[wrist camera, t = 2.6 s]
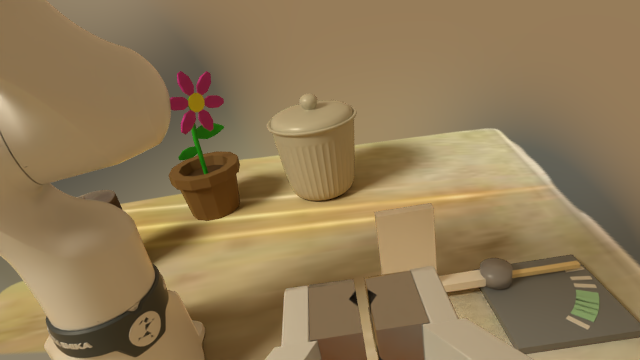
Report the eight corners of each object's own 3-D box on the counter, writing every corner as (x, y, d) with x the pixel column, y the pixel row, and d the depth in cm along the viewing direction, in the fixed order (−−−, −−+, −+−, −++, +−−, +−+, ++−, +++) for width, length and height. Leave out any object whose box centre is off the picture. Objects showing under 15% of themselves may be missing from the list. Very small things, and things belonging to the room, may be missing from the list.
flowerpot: (211, 232, 82) (161, 80, 69) (170, 217, 91) (119, 79, 78) (262, 198, 92) (227, 59, 79) (221, 187, 101) (183, 60, 88)
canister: (296, 220, 81) (274, 116, 72) (274, 185, 97) (253, 96, 88) (380, 193, 86) (369, 92, 76) (346, 163, 101) (333, 76, 92)
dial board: (518, 354, 47) (519, 348, 47) (472, 275, 60) (472, 269, 59) (644, 336, 47) (646, 328, 46) (571, 260, 60) (572, 253, 59)
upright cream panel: (387, 306, 55) (377, 223, 50) (382, 286, 59) (372, 206, 53) (587, 276, 54) (600, 187, 49) (569, 257, 58) (579, 173, 52)
